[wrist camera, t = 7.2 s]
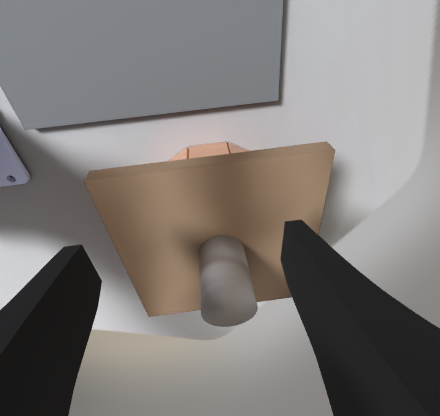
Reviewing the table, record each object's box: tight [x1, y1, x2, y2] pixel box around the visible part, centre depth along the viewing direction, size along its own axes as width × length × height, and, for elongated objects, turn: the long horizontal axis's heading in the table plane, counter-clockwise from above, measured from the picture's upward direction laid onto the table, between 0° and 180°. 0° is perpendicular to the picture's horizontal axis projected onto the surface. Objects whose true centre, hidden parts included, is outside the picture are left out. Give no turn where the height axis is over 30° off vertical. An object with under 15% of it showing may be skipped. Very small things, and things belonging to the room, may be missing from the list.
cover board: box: [84, 142, 335, 327], centre depth 15 cm, size 12×12×5 cm
